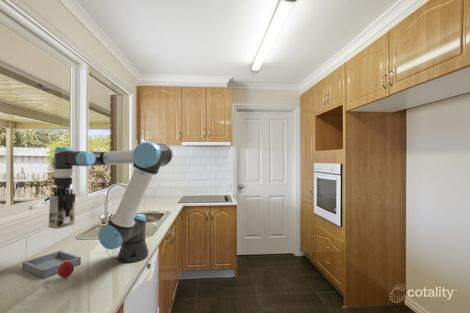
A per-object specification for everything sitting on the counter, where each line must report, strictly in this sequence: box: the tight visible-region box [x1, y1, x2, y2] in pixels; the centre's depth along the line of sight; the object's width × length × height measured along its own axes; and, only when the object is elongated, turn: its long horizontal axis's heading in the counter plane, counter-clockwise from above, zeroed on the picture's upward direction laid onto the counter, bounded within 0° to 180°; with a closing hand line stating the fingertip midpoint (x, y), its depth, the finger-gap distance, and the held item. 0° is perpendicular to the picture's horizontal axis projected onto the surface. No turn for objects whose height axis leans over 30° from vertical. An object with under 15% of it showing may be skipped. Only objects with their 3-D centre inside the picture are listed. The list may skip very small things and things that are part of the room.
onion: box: [57, 260, 75, 279], centre depth 104 cm, size 6×6×8 cm
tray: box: [22, 250, 82, 280], centre depth 114 cm, size 18×16×4 cm
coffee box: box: [48, 193, 76, 230], centre depth 120 cm, size 9×6×16 cm
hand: (62, 221), depth 120 cm, fingers closed on coffee box, 7 cm apart
